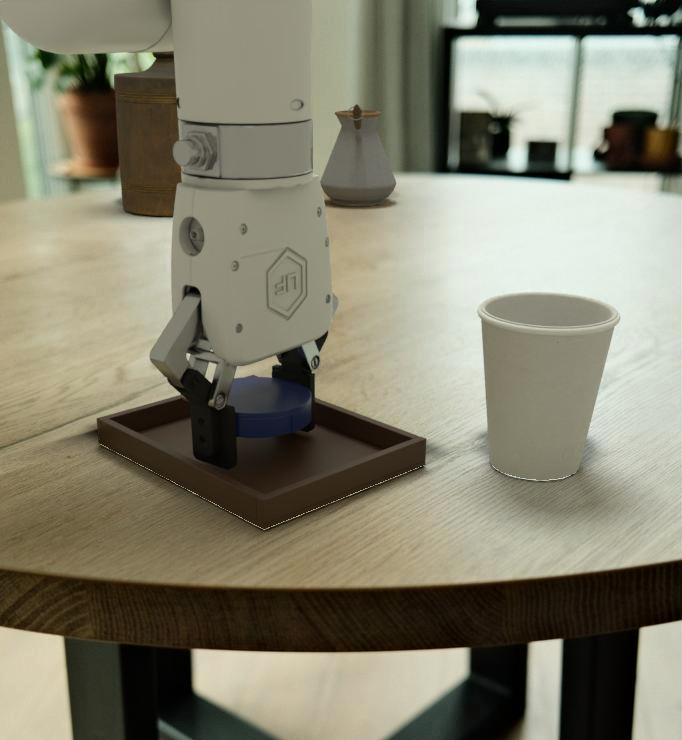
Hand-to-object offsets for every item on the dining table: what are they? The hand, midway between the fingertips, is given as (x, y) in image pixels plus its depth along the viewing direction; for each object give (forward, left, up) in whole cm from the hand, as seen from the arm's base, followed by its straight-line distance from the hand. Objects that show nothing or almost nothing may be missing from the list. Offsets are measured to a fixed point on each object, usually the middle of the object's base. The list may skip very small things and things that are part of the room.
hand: (256, 442), depth 65 cm
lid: (0, 0, +3) cm, 3 cm away
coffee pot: (-63, +70, -1) cm, 94 cm away
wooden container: (-81, +50, -1) cm, 95 cm away
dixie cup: (+13, +12, -1) cm, 18 cm away
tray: (0, 0, -1) cm, 1 cm away
